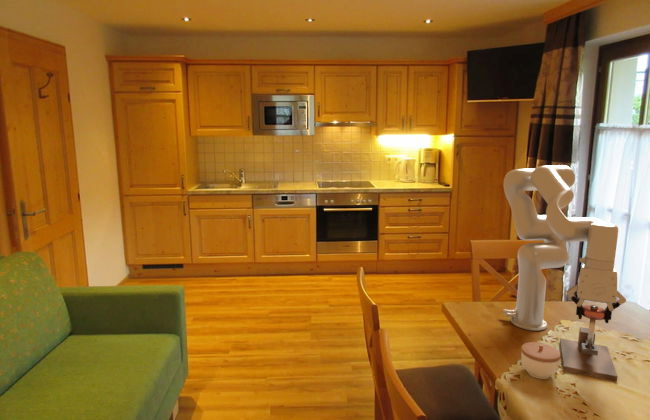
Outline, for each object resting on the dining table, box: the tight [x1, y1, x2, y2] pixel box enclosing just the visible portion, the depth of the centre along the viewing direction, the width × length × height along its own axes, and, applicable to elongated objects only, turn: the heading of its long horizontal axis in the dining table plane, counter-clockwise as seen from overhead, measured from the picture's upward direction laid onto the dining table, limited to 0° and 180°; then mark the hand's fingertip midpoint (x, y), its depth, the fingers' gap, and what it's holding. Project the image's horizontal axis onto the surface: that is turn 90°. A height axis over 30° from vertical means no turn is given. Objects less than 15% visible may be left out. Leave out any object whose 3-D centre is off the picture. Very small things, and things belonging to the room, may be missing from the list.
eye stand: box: [559, 326, 619, 382], centre depth 143 cm, size 14×20×8 cm
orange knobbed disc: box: [582, 304, 606, 349], centre depth 138 cm, size 6×6×14 cm
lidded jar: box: [520, 341, 562, 380], centre depth 135 cm, size 11×11×9 cm
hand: (592, 319), depth 137 cm, fingers closed on orange knobbed disc, 6 cm apart
